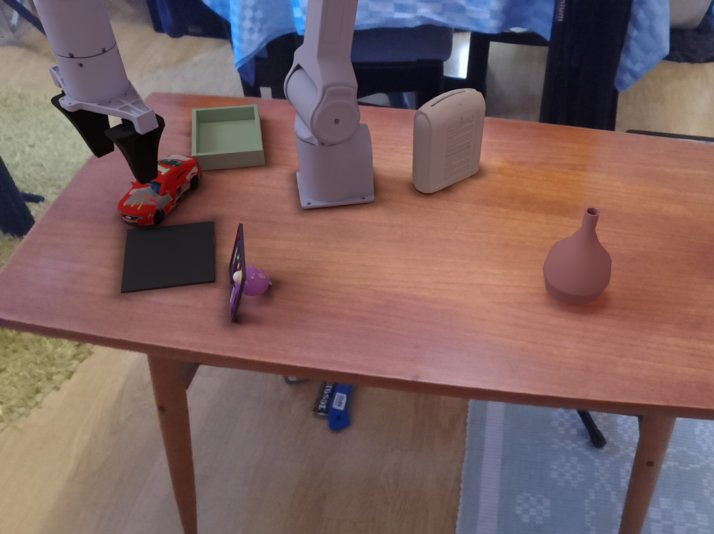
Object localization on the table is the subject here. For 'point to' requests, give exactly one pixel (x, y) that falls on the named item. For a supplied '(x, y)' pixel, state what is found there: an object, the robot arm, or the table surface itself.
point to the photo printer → (447, 139)
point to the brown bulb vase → (578, 265)
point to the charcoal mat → (168, 256)
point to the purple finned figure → (244, 275)
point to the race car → (160, 191)
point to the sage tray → (227, 137)
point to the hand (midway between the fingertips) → (126, 166)
